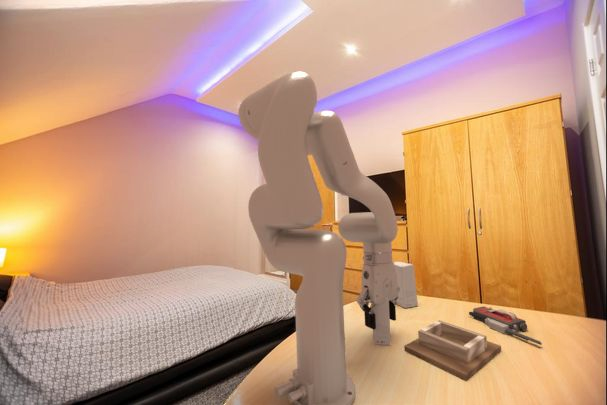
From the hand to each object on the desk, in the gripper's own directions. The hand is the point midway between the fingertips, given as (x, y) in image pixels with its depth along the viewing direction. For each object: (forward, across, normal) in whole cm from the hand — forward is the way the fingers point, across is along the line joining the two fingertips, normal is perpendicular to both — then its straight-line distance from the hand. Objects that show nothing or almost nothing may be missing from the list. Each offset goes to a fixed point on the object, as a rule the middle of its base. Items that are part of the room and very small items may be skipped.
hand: (380, 322), depth 69 cm
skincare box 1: (+5, 0, 0) cm, 5 cm away
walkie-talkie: (+5, +33, -18) cm, 37 cm away
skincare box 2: (+5, +27, +12) cm, 30 cm away
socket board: (+4, +9, -14) cm, 17 cm away
